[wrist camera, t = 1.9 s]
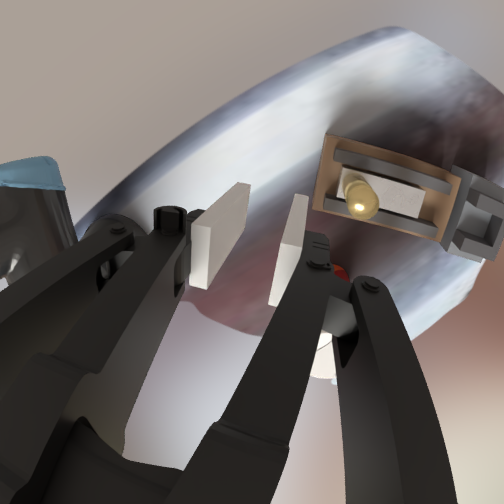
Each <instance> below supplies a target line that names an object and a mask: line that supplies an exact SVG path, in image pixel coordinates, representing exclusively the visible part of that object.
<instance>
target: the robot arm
mask: <svg viewBox="0 0 504 504" xmlns="http://www.w3.org/2000/svg"><path fill="white" fill-rule="evenodd" d="M250 187H251V185H250V184H245V183H239V182H237V183H236V184H235V185H234V186H233V187H232V188H231V189H229V190H228V191H227V192H226V193H225V194H224V195H223V196H222V197H220V198H219V199H218V200H217V201H216V202H215V203H214V204H213V205H211V206H210V207H209V208H208V209H207V210H201V209H197V210H194V211H191V212H189V213H188V214H187V211H186V210H185V209H184V208H181V207H177V206H162V207H158V208H156V209H154V230H153V231H152V232H151V233H150V234H149V235H147V234H146V233H145V231H144V230H143V229H142V228H141V227H140V226H139V225H138V224H136V223H135V222H134V221H132V220H131V219H129V218H127V217H125V216H122V215H118V214H108V215H105V216H103V217H101V218H99V219H98V220H96V221H94V222H93V223H92V224H91V225H90V226H89V227H88V229H87V230H86V232H85V234H84V236H83V237H82V238H81V240H80V241H79V242H78V239H77V236H76V233H75V229H74V226H73V222H72V219H71V215H70V211H69V207H68V203H67V199H66V195H65V190H66V188H65V186H63V182H62V179H61V175H60V171H59V167H58V164H57V162H56V161H55V160H54V159H53V158H51V157H49V156H38V157H31V158H26V159H21V160H16V161H12V162H8V163H4V164H1V165H0V279H2V278H4V277H5V278H6V280H7V282H8V285H9V286H8V287H7V288H5V289H4V290H2V291H1V292H0V504H270V503H271V500H272V498H273V496H274V493H275V490H276V488H277V485H278V482H279V480H280V477H281V475H282V472H283V469H284V466H285V464H286V461H287V457H288V453H289V441H290V438H291V435H292V432H293V429H294V426H295V423H296V420H297V417H298V414H299V411H300V407H301V404H302V401H303V397H304V394H305V391H306V387H307V384H308V380H309V377H310V373H311V369H312V366H313V362H314V358H315V354H316V350H317V347H318V343H319V339H320V334H321V330H323V331H326V332H328V333H330V334H332V347H333V354H334V361H335V369H336V377H337V386H338V395H339V405H340V413H341V425H342V438H343V451H344V467H345V490H346V504H458V503H457V498H456V492H455V486H454V481H453V476H452V471H451V467H450V463H449V458H448V454H447V450H446V446H445V442H444V438H443V435H442V431H441V427H440V424H439V420H438V417H437V414H436V411H435V407H434V404H433V401H432V398H431V395H430V392H429V389H428V386H427V383H426V380H425V378H424V375H423V372H422V369H421V367H420V364H419V361H418V359H417V356H416V353H415V351H414V348H413V346H412V343H411V341H410V338H409V336H408V333H407V331H406V329H405V326H404V324H403V322H402V319H401V317H400V315H399V312H398V310H397V308H396V306H395V303H394V301H393V299H392V297H391V295H390V293H389V290H388V288H387V287H386V286H385V284H383V283H382V282H381V281H380V280H378V279H375V278H374V277H369V276H358V277H356V278H355V279H354V281H353V283H350V282H348V281H346V280H344V279H341V278H340V277H338V276H337V275H335V274H334V270H335V269H334V265H333V264H332V263H331V262H330V253H329V240H328V238H327V237H326V236H325V235H324V234H320V233H315V232H311V231H307V230H305V224H306V215H307V207H308V198H309V196H305V195H300V194H296V193H295V196H294V200H293V203H292V207H291V210H290V214H289V217H288V220H287V224H286V227H285V231H284V234H283V237H282V241H281V245H280V250H279V255H278V259H277V264H276V269H275V274H274V279H273V284H272V289H271V293H270V298H269V303H268V305H272V306H276V307H277V308H276V310H275V312H274V314H273V317H272V319H271V321H270V323H269V325H268V327H267V329H266V331H265V333H264V335H263V337H262V339H261V341H260V343H259V345H258V347H257V349H256V351H255V353H254V355H253V357H252V359H251V361H250V363H249V365H248V367H247V369H246V371H245V373H244V375H243V377H242V379H241V381H240V383H239V385H238V386H237V388H236V390H235V392H234V394H233V396H232V398H231V400H230V402H229V403H228V405H227V407H226V409H225V411H224V413H223V415H222V416H221V418H220V419H219V420H218V421H217V422H214V423H213V424H212V425H211V426H210V427H209V429H208V431H207V432H206V434H205V435H204V437H203V439H202V440H201V442H200V444H199V446H198V447H197V449H196V451H195V452H194V454H193V456H192V458H191V459H190V461H189V463H188V464H187V466H186V468H185V469H184V471H182V470H179V469H175V468H169V467H162V466H156V465H150V464H145V463H139V462H134V461H130V460H127V459H125V458H123V457H122V453H123V450H124V444H125V435H124V434H125V427H126V424H127V422H128V419H129V417H130V414H131V412H132V409H133V406H134V404H135V402H136V399H137V397H138V394H139V392H140V390H141V387H142V385H143V383H144V380H145V377H146V375H147V372H148V370H149V368H150V366H151V364H152V361H153V359H154V357H155V354H156V352H157V350H158V347H159V345H160V343H161V341H162V339H163V336H164V334H165V332H166V329H167V327H168V325H169V323H170V321H171V319H172V316H173V314H174V312H175V310H176V308H177V305H178V303H179V301H180V299H181V297H182V295H183V293H184V291H185V279H186V278H187V277H188V275H189V274H190V284H189V285H191V286H195V287H199V288H203V289H207V288H208V287H209V285H210V283H211V282H212V280H213V279H214V277H215V275H216V274H217V272H218V270H219V269H220V267H221V266H222V264H223V262H224V261H225V259H226V258H227V256H228V254H229V253H230V251H231V250H232V248H233V246H234V245H235V243H236V242H237V240H238V238H239V237H240V235H241V234H242V232H243V231H244V229H245V223H246V216H247V208H248V201H249V194H250Z"/></svg>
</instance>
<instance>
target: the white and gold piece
mask: <svg viewBox="0 0 504 504" xmlns="http://www.w3.org/2000/svg"><path fill="white" fill-rule="evenodd" d="M425 193H426V191H425V190H423V189H422V188H421V187H419V186H416V185H412V184H409V183H406V182H403V181H400V180H396V179H393V178H390V177H386V176H383V175H379V174H376V173H372V172H368V171H365V170H361V169H357V168H353V167H349V166H345V165H341V170H340V174H339V179H338V183H337V188H336V197H339V198H343V199H345V200H346V203H347V207H348V210H349V212H350V213H351V215H352V216H354V217H355V218H357V219H360V220H366V219H370V218H372V217H373V216H374V215H375V214H376V213H377V211H378V209H379V208H382V209H386V210H390V211H393V212H397V213H400V214H404V215H407V216H411V217H414V218H418V215H419V212H420V209H421V206H422V203H423V199H424V196H425Z"/></svg>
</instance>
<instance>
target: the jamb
mask: <svg viewBox="0 0 504 504" xmlns="http://www.w3.org/2000/svg"><path fill="white" fill-rule="evenodd" d="M451 173H452V174H454V175H456V176H458V177H460V178H461V182H460V185H459V189H458V192H457V196H456V199H455V202H454V205H453V208H452V211H451V214H450V217H449V220H448V223H447V226H446V229H445V231H444V234H443V237H442V239H441V242H439V243H440V244H441V246H442V247H443V248H444V250H445V251H446V252H447V253H450V254H453V255H456V256H460V257H463V258H466V259H470V260H473V261H476V262H480V263H481V261H482V259H483V258H485V259H488V260H491V261H494V260H495V258H496V255H497V253H498V251H499V248H500V246H501V243H502V241H503V238H504V188H502V187H500V186H498V185H496V184H494V183H493V182H491V181H489V180H487V179H485V178H483V177H481V176H478V175H476V174H474V173H472V172H469V171H467V170H465V169H462V168H460V167H458V166H455V165H452V169H451Z"/></svg>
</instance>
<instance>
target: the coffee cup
mask: <svg viewBox="0 0 504 504" xmlns="http://www.w3.org/2000/svg"><path fill="white" fill-rule="evenodd" d="M333 265H334V269H335V270H334V274H335V275H337V276H338V277H340V278H341V279H344V280H346V281H348V282H350V281H349V278H348V275H347V273H346V272H345V270H344V269H343V268H341V267H340V266H338V265H335V264H333ZM310 376H313V377H316V378H323V379H327V378H328V379H329V378H337V377H336V369H335V361H334V354H333V347H332V334H330V333H328V332H326V331H323V330H321V334H320V339H319V343H318V347H317V350H316V354H315V358H314V362H313V366H312V369H311V373H310Z"/></svg>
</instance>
